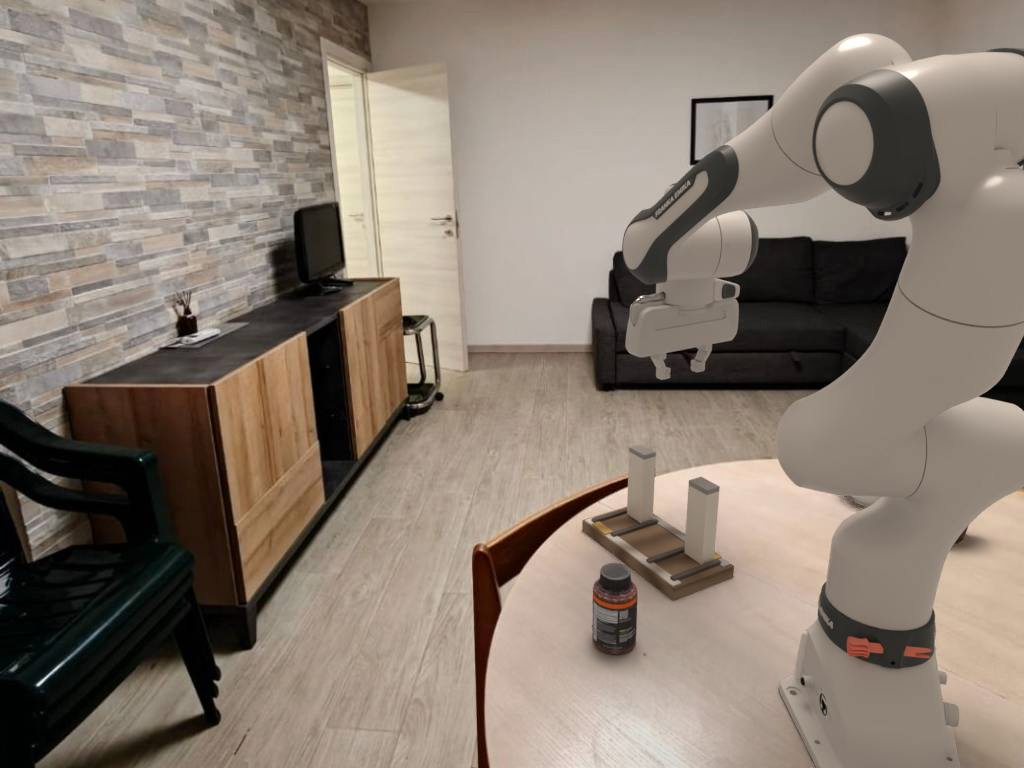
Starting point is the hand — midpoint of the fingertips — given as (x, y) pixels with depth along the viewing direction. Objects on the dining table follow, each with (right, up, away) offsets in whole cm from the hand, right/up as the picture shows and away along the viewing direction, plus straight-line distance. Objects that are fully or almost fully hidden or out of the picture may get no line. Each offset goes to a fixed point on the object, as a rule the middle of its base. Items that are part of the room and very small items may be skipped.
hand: (680, 374), depth 117 cm
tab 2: (+3, -29, -1) cm, 29 cm away
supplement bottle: (-13, -37, -17) cm, 43 cm away
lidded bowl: (+40, -23, +20) cm, 51 cm away
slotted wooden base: (-4, -29, +4) cm, 30 cm away
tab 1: (-5, -25, +11) cm, 28 cm away
